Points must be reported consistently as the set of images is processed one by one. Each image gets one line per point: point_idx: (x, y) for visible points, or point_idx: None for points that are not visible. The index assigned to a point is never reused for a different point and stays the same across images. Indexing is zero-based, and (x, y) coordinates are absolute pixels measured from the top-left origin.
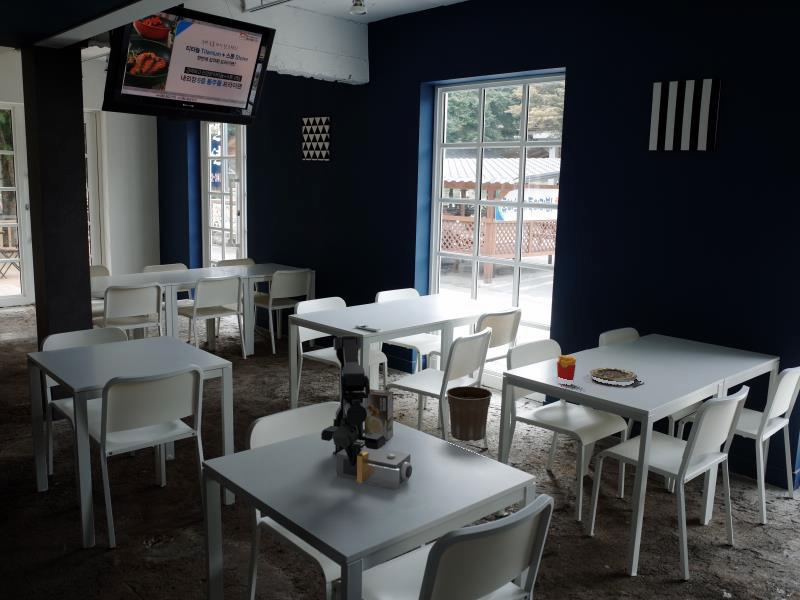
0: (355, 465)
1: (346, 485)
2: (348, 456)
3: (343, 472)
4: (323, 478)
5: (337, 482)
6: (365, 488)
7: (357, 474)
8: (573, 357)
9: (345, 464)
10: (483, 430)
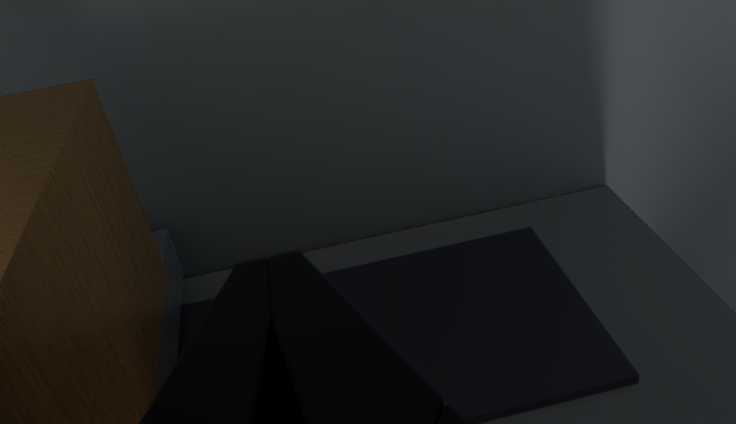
0: None
1: (323, 38)
2: (386, 386)
3: (533, 235)
4: (717, 24)
5: (491, 39)
6: None
7: (55, 147)
8: None
9: (555, 321)
10: None
